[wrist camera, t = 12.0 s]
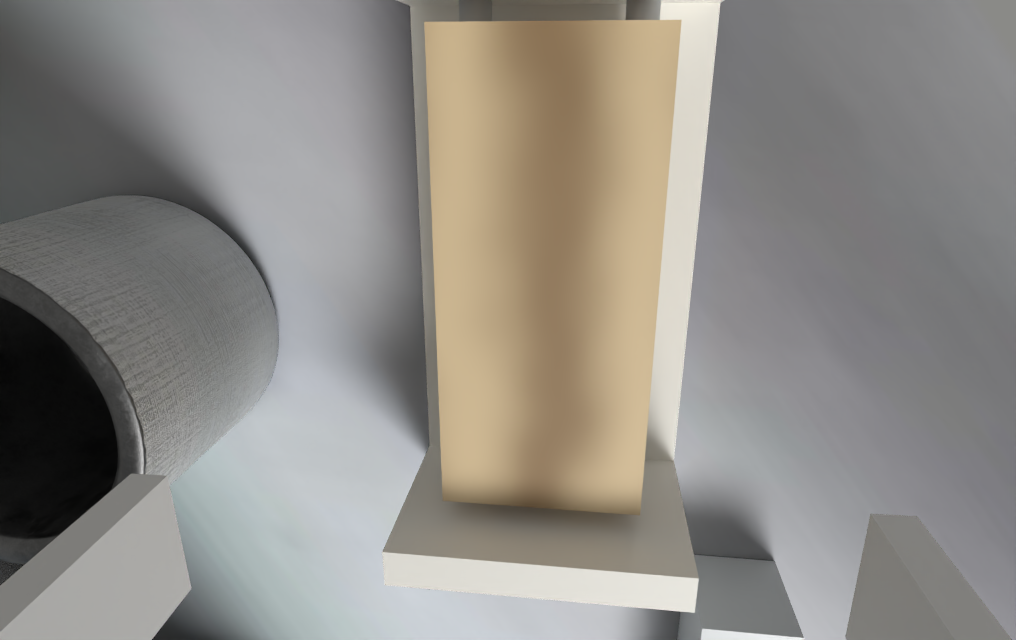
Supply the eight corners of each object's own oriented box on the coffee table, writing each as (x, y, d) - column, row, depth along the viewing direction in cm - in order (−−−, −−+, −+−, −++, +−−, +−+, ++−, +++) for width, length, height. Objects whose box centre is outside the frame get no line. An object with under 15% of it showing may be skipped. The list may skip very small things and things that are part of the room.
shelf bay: (434, 464, 34) (385, 585, 26) (413, -37, 26) (332, -89, 18) (669, 480, 33) (694, 612, 25) (721, -42, 25) (784, -101, 17)
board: (456, 461, 30) (442, 500, 27) (443, 28, 24) (424, 22, 21) (635, 473, 29) (640, 515, 26) (670, 27, 23) (681, 19, 20)
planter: (197, 146, 30) (-11, 182, 20) (331, 378, 33) (214, 514, 23) (1, 252, 33) (-268, 331, 23) (142, 455, 37) (-37, 605, 26)
